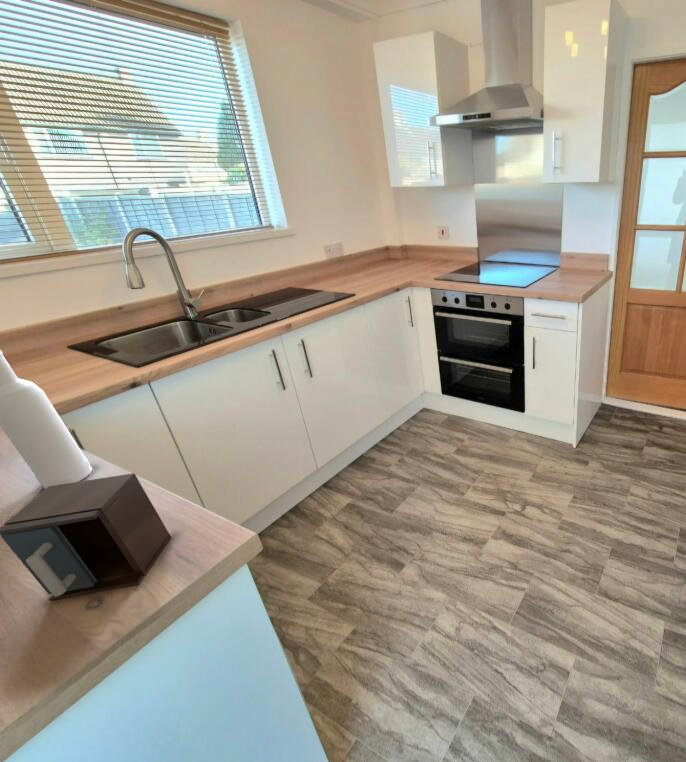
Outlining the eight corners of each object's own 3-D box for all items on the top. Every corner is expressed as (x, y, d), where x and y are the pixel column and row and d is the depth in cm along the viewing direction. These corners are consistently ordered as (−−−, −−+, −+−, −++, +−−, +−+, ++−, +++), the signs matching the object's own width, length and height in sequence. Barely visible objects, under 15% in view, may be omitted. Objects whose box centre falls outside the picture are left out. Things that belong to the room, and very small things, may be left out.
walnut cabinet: (50, 601, 63) (-7, 532, 57) (94, 551, 72) (48, 486, 66) (139, 584, 65) (93, 515, 59) (171, 537, 74) (134, 472, 67)
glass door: (30, 615, 60) (-23, 554, 55) (50, 592, 64) (2, 533, 58) (78, 606, 61) (30, 545, 56) (95, 584, 65) (52, 525, 59)
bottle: (53, 494, 86) (-43, 359, 73) (36, 485, 90) (-59, 353, 76) (100, 471, 93) (20, 342, 79) (82, 463, 96) (3, 338, 83)
